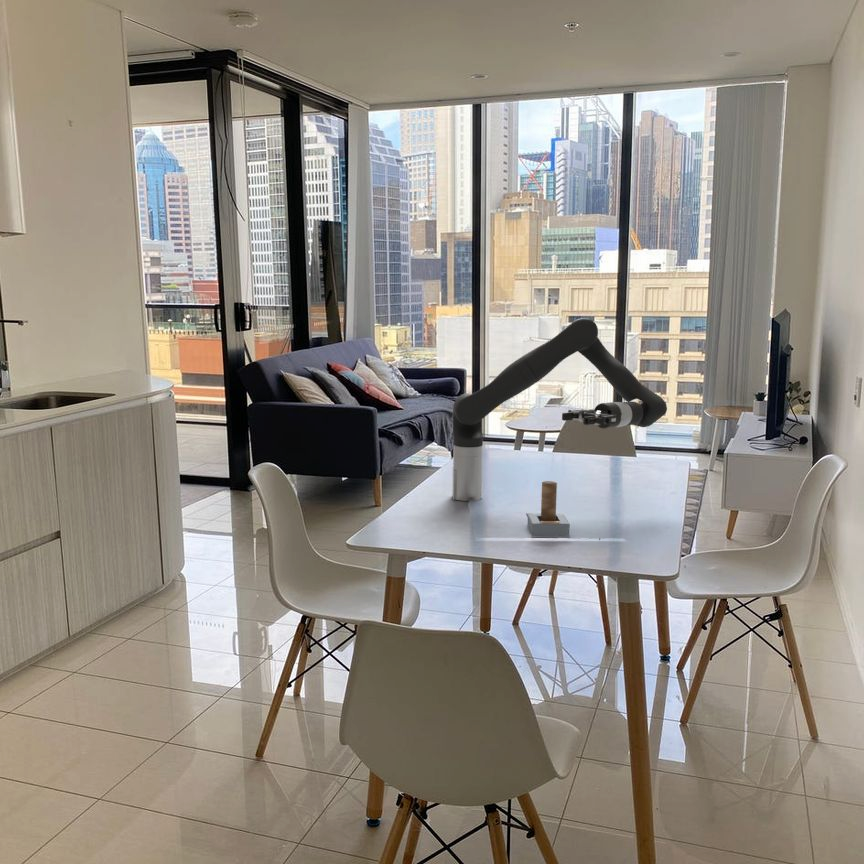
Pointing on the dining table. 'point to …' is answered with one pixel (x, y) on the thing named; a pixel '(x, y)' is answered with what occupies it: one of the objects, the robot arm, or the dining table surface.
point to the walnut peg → (548, 501)
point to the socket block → (548, 525)
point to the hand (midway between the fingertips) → (573, 418)
